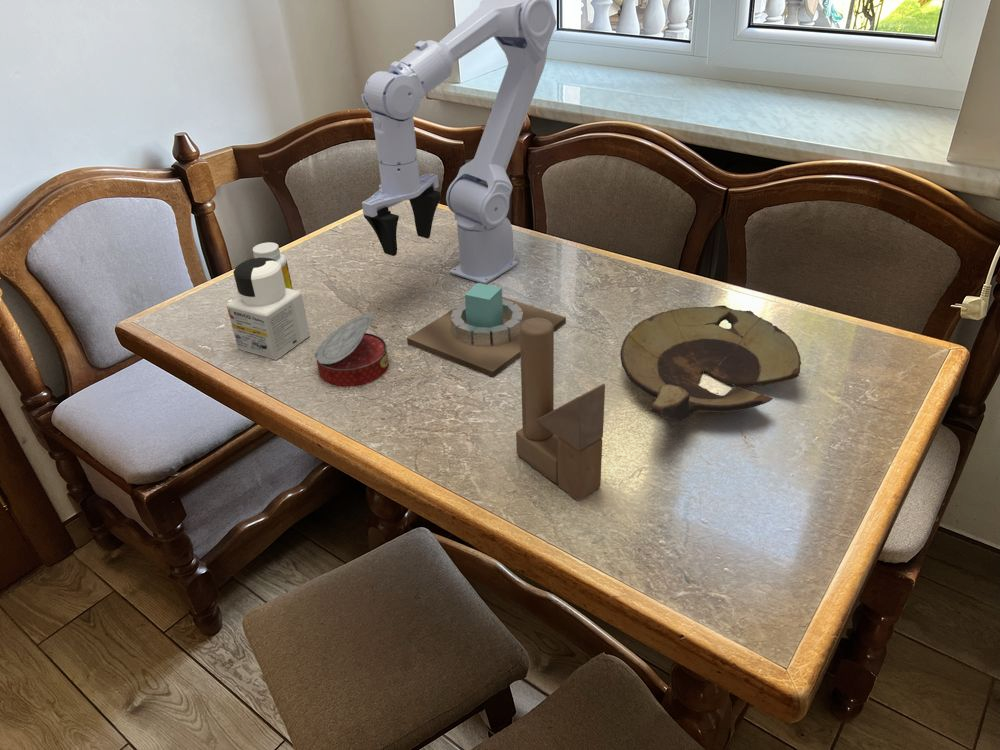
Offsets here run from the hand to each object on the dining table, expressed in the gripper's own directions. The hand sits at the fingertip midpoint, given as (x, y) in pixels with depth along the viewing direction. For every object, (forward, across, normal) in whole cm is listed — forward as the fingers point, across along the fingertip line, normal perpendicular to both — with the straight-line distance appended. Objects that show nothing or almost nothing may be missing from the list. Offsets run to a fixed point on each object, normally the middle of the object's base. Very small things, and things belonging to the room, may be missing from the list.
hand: (407, 245), depth 121 cm
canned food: (+10, +20, +7) cm, 23 cm away
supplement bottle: (+10, +14, -17) cm, 24 cm away
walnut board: (+9, +2, +17) cm, 20 cm away
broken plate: (+10, -2, +48) cm, 49 cm away
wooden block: (+10, +22, +43) cm, 49 cm away
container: (+10, +22, -8) cm, 25 cm away
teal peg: (+8, +2, +17) cm, 19 cm away
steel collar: (+9, +2, +17) cm, 20 cm away
